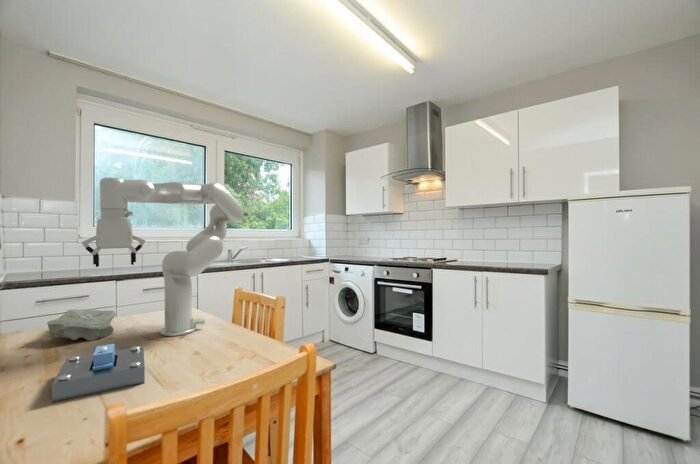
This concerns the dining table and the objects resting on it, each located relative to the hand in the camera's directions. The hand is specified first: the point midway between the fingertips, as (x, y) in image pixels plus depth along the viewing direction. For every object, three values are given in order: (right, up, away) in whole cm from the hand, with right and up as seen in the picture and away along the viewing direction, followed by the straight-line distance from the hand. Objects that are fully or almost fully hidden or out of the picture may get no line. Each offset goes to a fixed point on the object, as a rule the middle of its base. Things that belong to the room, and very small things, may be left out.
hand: (115, 265), depth 111 cm
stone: (-23, -28, +15) cm, 40 cm away
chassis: (+14, -28, -23) cm, 39 cm away
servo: (+14, -28, -23) cm, 39 cm away
